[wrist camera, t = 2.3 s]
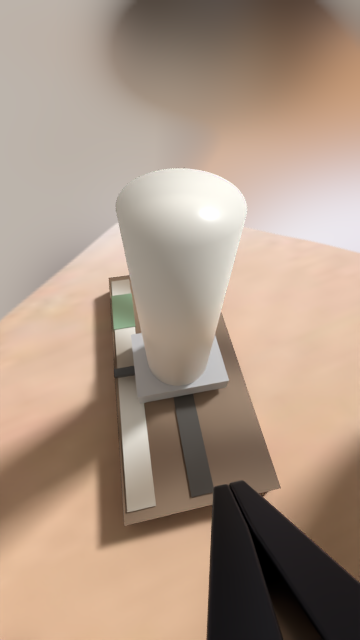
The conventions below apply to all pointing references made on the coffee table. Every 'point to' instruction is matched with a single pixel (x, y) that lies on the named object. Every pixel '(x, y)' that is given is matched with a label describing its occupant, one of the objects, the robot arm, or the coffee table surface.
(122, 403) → the board
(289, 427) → the coffee table surface
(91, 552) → the coffee table surface
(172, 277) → the tuning slider
